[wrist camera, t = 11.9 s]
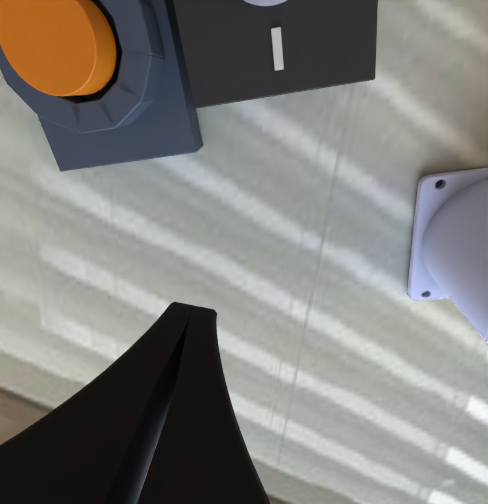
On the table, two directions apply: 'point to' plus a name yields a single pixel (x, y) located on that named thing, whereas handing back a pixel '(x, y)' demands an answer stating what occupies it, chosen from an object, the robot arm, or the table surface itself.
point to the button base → (123, 95)
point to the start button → (58, 45)
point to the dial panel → (274, 47)
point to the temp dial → (265, 2)
